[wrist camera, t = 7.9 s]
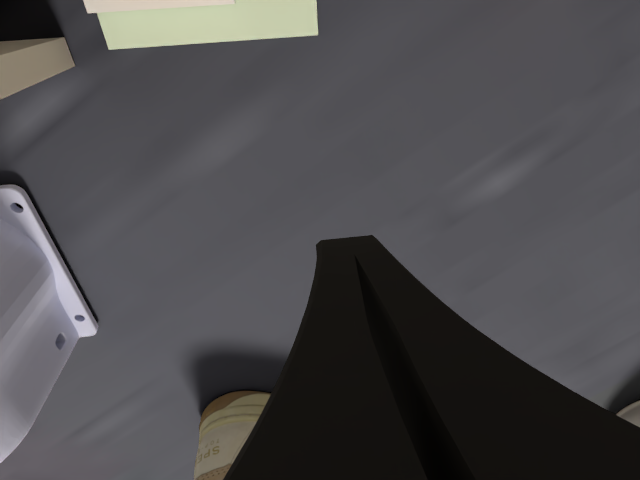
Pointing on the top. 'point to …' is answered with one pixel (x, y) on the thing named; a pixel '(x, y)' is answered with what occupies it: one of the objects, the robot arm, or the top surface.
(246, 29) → the pad
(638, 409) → the lidded jar
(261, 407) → the boat shoe
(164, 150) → the top surface
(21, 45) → the tunnel
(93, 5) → the cream and orange bar
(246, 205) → the top surface
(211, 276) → the top surface
